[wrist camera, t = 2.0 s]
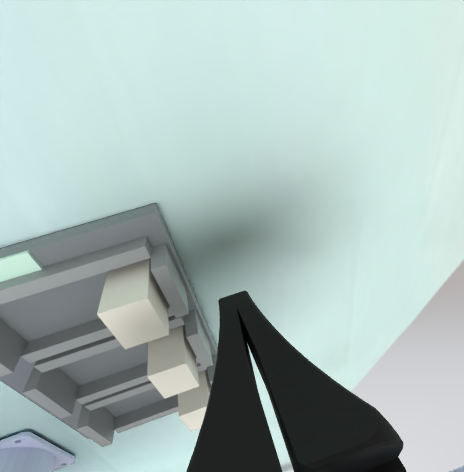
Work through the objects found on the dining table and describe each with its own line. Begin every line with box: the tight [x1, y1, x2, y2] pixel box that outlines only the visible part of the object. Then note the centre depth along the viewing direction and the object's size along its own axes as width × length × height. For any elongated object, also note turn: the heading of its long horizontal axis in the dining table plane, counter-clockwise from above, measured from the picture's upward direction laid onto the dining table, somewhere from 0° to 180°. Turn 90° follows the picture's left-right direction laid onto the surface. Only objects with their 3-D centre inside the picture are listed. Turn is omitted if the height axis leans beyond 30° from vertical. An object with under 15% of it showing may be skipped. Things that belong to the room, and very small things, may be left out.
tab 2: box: [147, 325, 199, 398], centre depth 17 cm, size 2×3×3 cm
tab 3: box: [178, 370, 212, 431], centre depth 21 cm, size 2×3×3 cm
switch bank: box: [0, 203, 218, 447], centre depth 18 cm, size 14×20×3 cm
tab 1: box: [97, 258, 169, 349], centre depth 14 cm, size 2×3×3 cm
